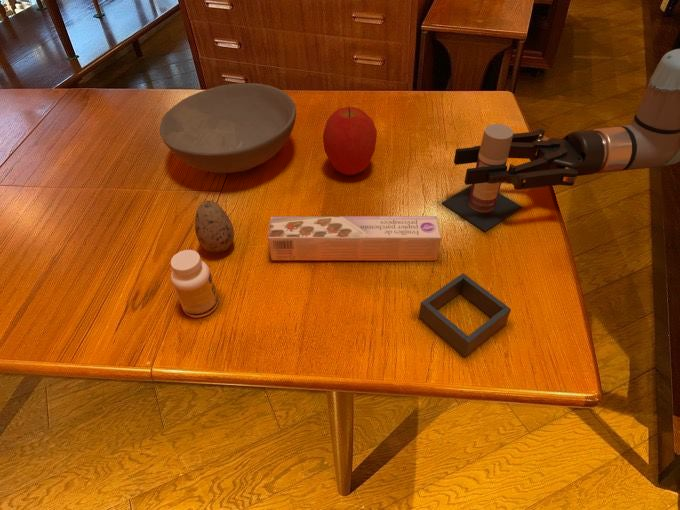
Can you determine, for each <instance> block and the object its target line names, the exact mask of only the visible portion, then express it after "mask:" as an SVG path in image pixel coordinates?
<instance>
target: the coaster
mask: <svg viewBox="0 0 680 510" xmlns="http://www.w3.org/2000/svg"><path fill="white" fill-rule="evenodd" d="M471 188H472V184H470V185H468V186H467V187H466V188H464V189H462V190H460V191H459V192H457V193H454V194H453V195H452V196H450V197H449V198H447V199H446V200H444V201H442V202H441V205H442V206H444V207H446V208H447V209H448V210H450V211H451V212H453V213H455V214H456V215H457V216H459V217H461V218H462V219H464V220H465V221H466V222H468V223H469V224H471V225H473V227H476V228H477V229H479V230H480V231H482V232H483V233H486V232H488V231H490V230H492V228H494V227H496V226H497V225H498V224H500V223H502V222H503V221H504V220H506V219H508V218H510V217H511V216H512V215H514V214H515V213H517V212H518V211H520V210H521V209H522V208H523V206H522V205H520V204H519V203H517V202H515V201H514V200H512V199H510V198H508V197H507V196H505V195H503V194H502V193H500V192H499V193H498V197H497V201H496V205H495V208H494V209H493V210H492V211H490V212H486V213H483V212H477V211H475V210H473V209H472V208H471V207H470V206H469V198H470V193H471Z"/></svg>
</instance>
